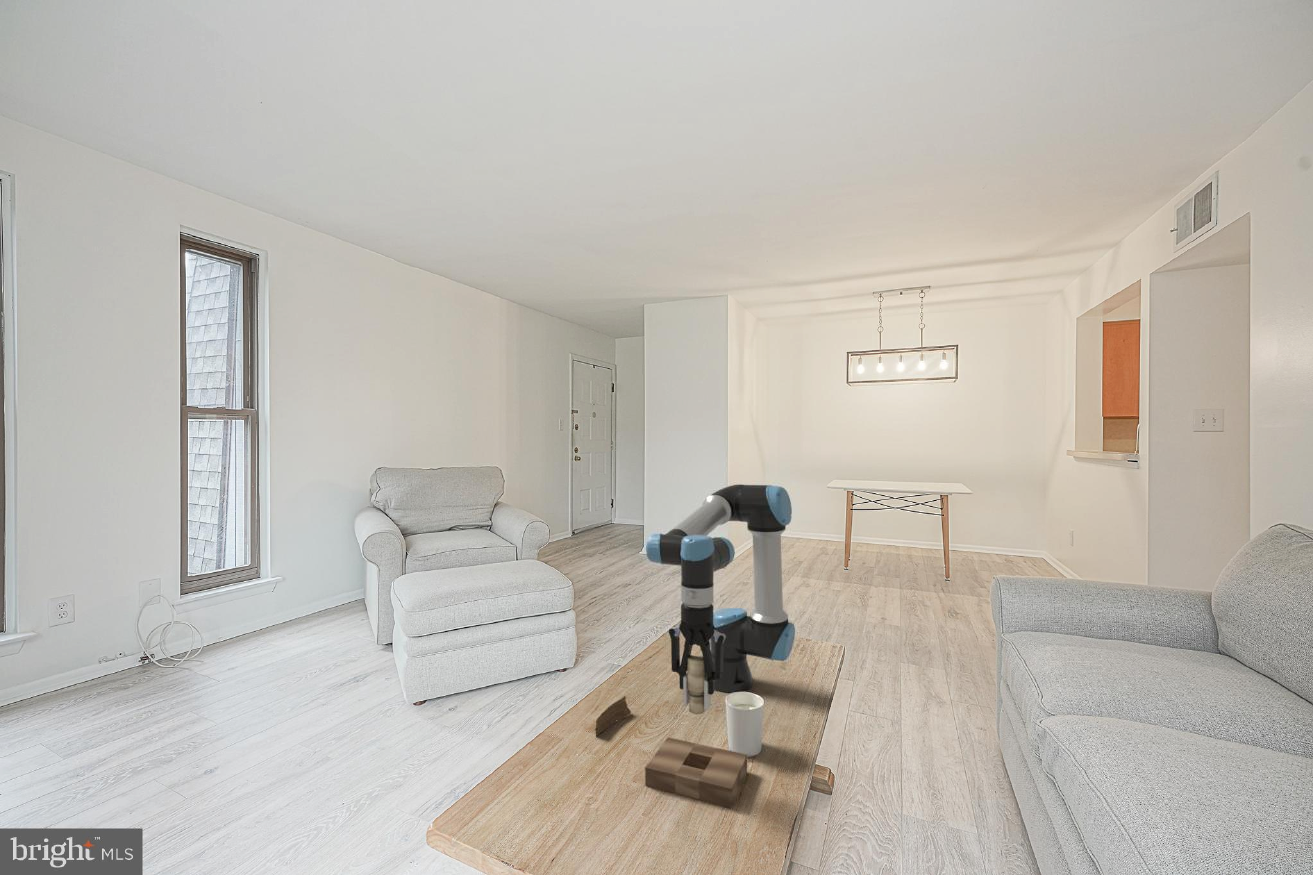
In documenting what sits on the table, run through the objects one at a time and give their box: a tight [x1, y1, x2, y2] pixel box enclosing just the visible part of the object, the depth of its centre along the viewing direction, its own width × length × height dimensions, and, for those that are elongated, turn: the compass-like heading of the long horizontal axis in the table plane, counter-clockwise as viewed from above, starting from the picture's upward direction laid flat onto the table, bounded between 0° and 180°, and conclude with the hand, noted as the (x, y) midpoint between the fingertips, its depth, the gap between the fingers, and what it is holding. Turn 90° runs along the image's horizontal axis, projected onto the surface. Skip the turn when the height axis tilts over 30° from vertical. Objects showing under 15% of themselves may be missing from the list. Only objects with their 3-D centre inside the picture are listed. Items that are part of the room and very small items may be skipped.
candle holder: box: [724, 691, 765, 758], centre depth 139 cm, size 10×10×12 cm
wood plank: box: [594, 695, 632, 737], centre depth 151 cm, size 15×2×5 cm, turn 151°
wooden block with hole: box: [644, 736, 748, 808], centre depth 126 cm, size 14×20×4 cm
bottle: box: [686, 653, 707, 715], centre depth 127 cm, size 4×4×12 cm
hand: (697, 705), depth 127 cm, fingers closed on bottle, 4 cm apart
